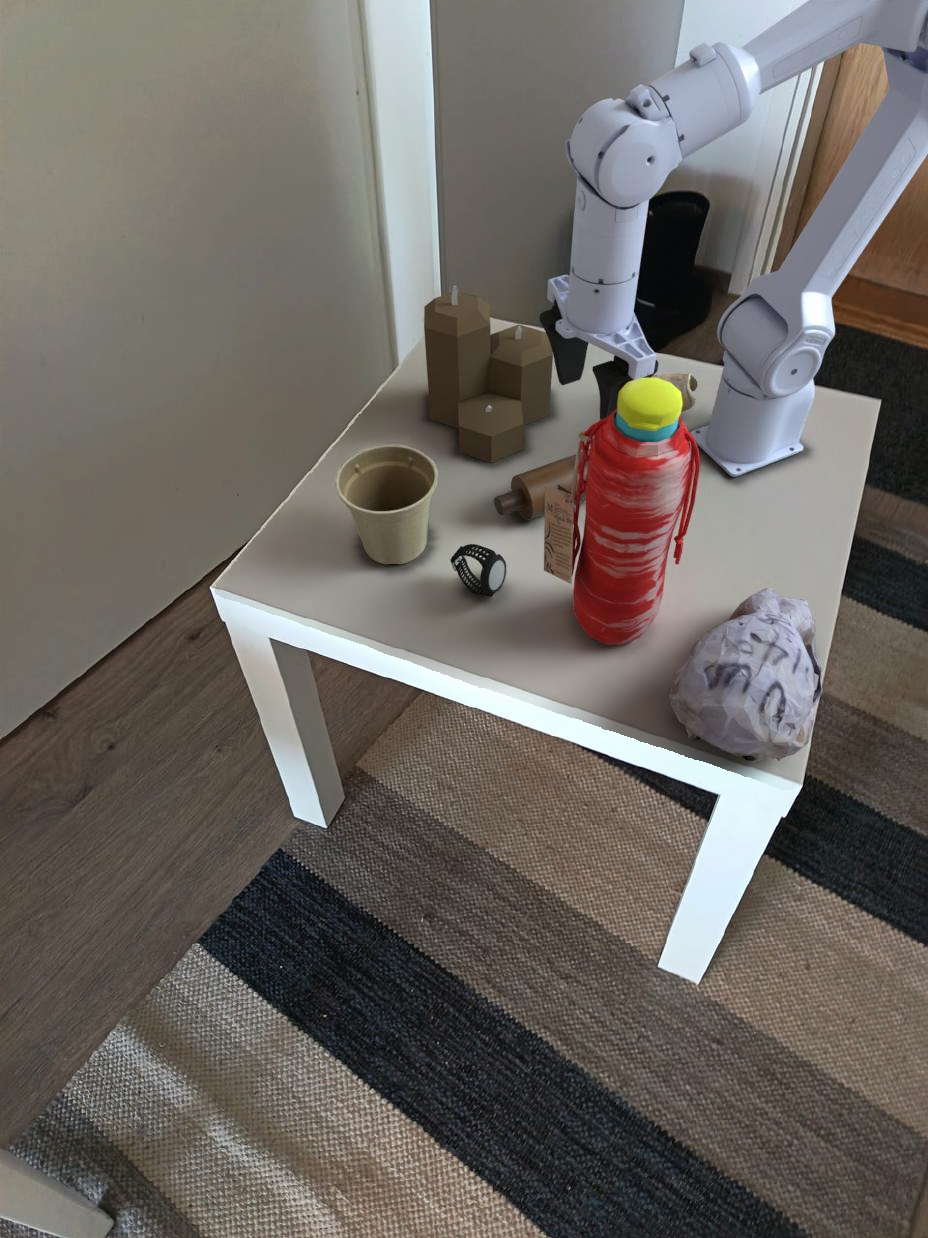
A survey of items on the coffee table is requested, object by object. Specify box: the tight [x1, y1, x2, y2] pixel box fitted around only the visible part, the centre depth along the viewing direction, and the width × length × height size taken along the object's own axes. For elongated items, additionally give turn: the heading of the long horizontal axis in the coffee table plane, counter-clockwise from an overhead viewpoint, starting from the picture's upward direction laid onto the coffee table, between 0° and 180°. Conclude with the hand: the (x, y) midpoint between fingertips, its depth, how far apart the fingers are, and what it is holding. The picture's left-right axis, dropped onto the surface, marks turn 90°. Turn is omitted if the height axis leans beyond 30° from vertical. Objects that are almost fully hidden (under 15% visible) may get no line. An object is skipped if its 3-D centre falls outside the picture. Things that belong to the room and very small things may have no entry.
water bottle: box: [543, 378, 701, 645], centre depth 69 cm, size 12×8×25 cm, turn 71°
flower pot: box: [334, 443, 439, 565], centre depth 82 cm, size 9×9×9 cm
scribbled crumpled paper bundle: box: [668, 587, 824, 764], centre depth 69 cm, size 19×12×10 cm, turn 137°
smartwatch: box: [449, 543, 507, 598], centre depth 79 cm, size 4×5×5 cm
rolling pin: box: [493, 448, 590, 521], centre depth 87 cm, size 15×5×5 cm, turn 116°
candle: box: [423, 285, 554, 464], centre depth 92 cm, size 14×14×15 cm
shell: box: [651, 372, 698, 413], centre depth 96 cm, size 8×4×5 cm, turn 84°
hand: (590, 402), depth 82 cm, fingers open, 7 cm apart
